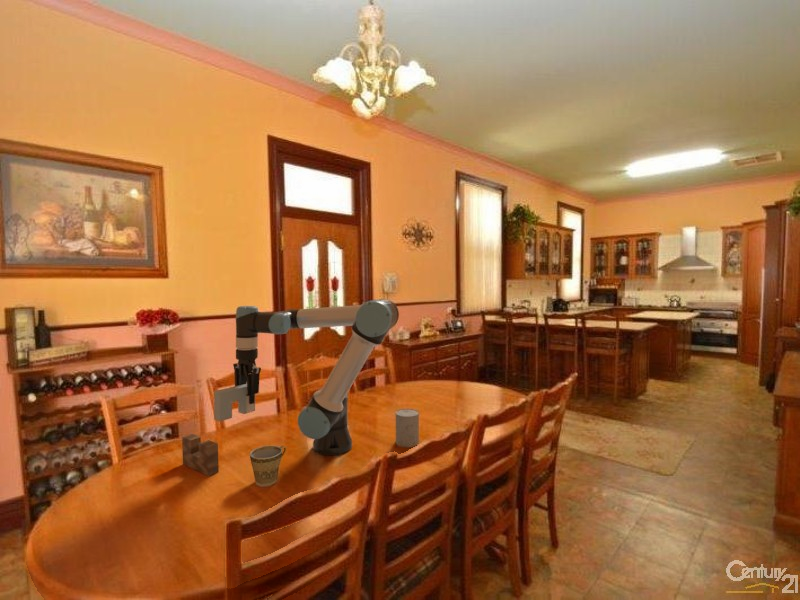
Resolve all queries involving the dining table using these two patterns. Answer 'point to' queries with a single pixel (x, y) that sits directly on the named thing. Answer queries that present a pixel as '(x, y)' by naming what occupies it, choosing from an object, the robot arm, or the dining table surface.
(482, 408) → the dining table surface
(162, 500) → the dining table surface
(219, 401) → the grey arch block
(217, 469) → the walnut upright
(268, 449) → the ceramic cup
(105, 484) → the dining table surface
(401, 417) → the grey cylinder
